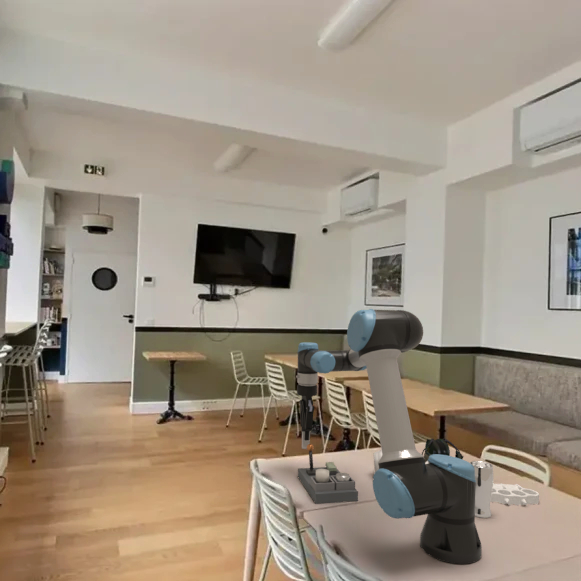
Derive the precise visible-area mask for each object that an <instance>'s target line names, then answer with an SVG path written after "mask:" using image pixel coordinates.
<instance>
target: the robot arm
mask: <svg viewBox="0 0 581 581" xmlns="http://www.w3.org/2000/svg"><path fill="white" fill-rule="evenodd" d="M423 336H424V326H423V323H422V322H421V320H420V319H419V318H418V317H417V315H415V314H414V313H413V312H410V311H407V310H404V309H403V310H401V309H398V310H397V309H396V310H395V309H373V308H369V309H361V310H357V311H356V312H354V314H353V315H352V316H351V318H350V320H349V323H348V326H347V332H346V340H347V341H346V342H347V344H348V347H349V349H345V350H343V349H342V350H340V349H339V350H338V349H336V350H331V349H330V350H328V349H327V350H320V349H319V344H318V343H316V342H309V341H307V342H306V341H305V342H300V343H298V348H297V375H295V377H296V379H297V380H296V381H297V383H298V384H297V385H296V394H297V395H298V396H300V397H301V399H299V401H298V402H299V410H300V411H299V413H300V414H299V415H300V417H299V418H300V427H301V449H302V450H307V445H308V444H311V431H313V423H314V412H315V405H314V400H313V397H315V396H317V395H318V385H317V384H318V382H319V381H318V380H319V376H318V375H319V374H329V373H333V372H361V371H365V370H366V372H367V377H368V382H369V388H370V394H371V399H372V405H373V409H374V410H373V411H374V415H375V420H376V427H377V431H378V437H379V442H380V447H381V450H382V457H381V459H380V460H379V462H378V465H379V469H378V470H377V471H376V472H375V471H374V473H373V477H372V478H373V479H372V490H373V493H374V496H375V500H376V501H377V504H378V505H379V507H380V508H381V510H382V511H383V512H384V513H385V514H386V516H388V517H389V518H392V519H398V520H399V519H412V518H413V517H420V516H423V515H424V516H425V515H426V519H425V521H424V522H423V523H424V524H423V526H422V529H421V533H420V535H419V536H420V537H419V545H420V548H421V549H422V551H423V552H424V553H425V554H427V555H428V556H430V557H432V558H434V559H437V560H439V561H443V562H446V563H450V564H456V565H458V564H459V565H463V564H465V565H466V564H472V563H475V562H477V561H479V560H480V559H481V558H482V554H483V553H482V548H483V547H482V541H481V538H480V535H479V532H478V529H477V526H476V522H475V521H476V519H475V518H476V516H475V485H476V480H475V469H474V467H473V465H472V464H470V462H469V461H467V460H466V459H465V460H464V459H463V460H462V459H459V458H456V457H455V456H451V455H450V456H447V455H440V454H433V455H430V456H429V459H428V464H425V460H424V454H423V455H422V453H421V452H419V451H418V450H417V449H416V442H415V438H414V433H413V430H412V425H411V420H410V416H409V415H410V414H409V411H408V410H409V409H408V407H407V406H408V405H407V401H406V396H405V391H404V388H403V383H402V377H401V373H400V368H399V367H400V366H399V364H398V358H400V356H401V355H402V353H406V352H408V351H411V350H413V349H415V348H416V347H417V346H419V344H421V343H422V342H421V341H422V340H423Z"/></svg>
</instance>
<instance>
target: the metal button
mask: <svg viewBox="0 0 581 581" xmlns="http://www.w3.org/2000/svg"><path fill="white" fill-rule="evenodd" d="M350 477H351V475H350V474H349V473H347V472H340V473H337V474H336V481H337V482H348V481H349V479H350Z"/></svg>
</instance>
